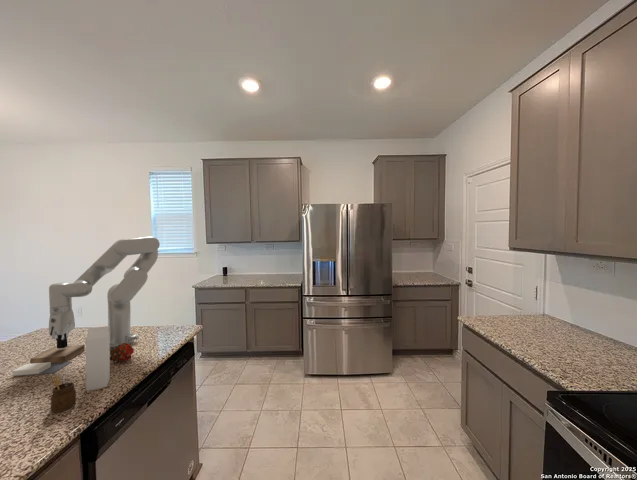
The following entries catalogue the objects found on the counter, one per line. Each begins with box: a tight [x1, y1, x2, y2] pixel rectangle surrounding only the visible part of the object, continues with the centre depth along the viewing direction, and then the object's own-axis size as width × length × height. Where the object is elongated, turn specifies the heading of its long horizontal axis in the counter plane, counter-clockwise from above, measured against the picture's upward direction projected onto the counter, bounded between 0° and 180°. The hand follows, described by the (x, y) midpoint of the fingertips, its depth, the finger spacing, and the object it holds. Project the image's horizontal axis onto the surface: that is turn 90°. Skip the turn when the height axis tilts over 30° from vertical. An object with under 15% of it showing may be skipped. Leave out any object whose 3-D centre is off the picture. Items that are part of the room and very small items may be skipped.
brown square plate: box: [29, 344, 86, 364], centre depth 123 cm, size 13×13×3 cm
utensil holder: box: [50, 370, 77, 414], centre depth 86 cm, size 6×6×12 cm
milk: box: [85, 325, 111, 392], centre depth 100 cm, size 6×6×22 cm
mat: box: [21, 361, 72, 377], centre depth 112 cm, size 11×10×1 cm
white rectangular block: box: [11, 362, 51, 377], centre depth 110 cm, size 9×6×2 cm, turn 101°
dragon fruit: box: [110, 343, 135, 364], centre depth 120 cm, size 8×8×12 cm
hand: (62, 347), depth 125 cm, fingers closed
